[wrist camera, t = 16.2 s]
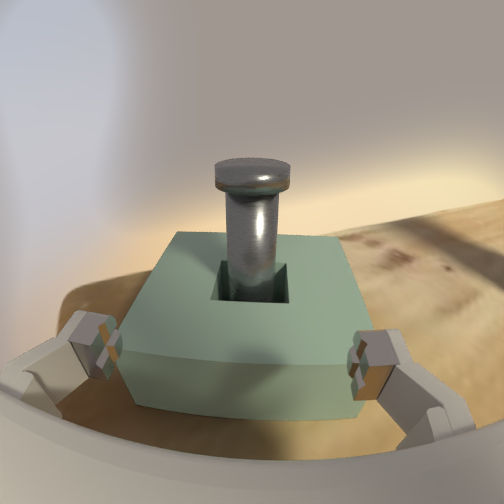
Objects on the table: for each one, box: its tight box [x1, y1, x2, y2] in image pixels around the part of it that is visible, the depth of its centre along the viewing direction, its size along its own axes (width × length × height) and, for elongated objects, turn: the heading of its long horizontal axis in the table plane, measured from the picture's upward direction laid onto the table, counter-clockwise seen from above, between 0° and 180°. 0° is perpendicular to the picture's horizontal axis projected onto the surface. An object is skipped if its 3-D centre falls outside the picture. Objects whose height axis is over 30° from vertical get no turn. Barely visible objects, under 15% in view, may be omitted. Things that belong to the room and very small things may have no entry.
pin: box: [215, 158, 290, 303], centre depth 20 cm, size 4×4×14 cm
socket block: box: [115, 232, 374, 421], centre depth 22 cm, size 15×15×6 cm
